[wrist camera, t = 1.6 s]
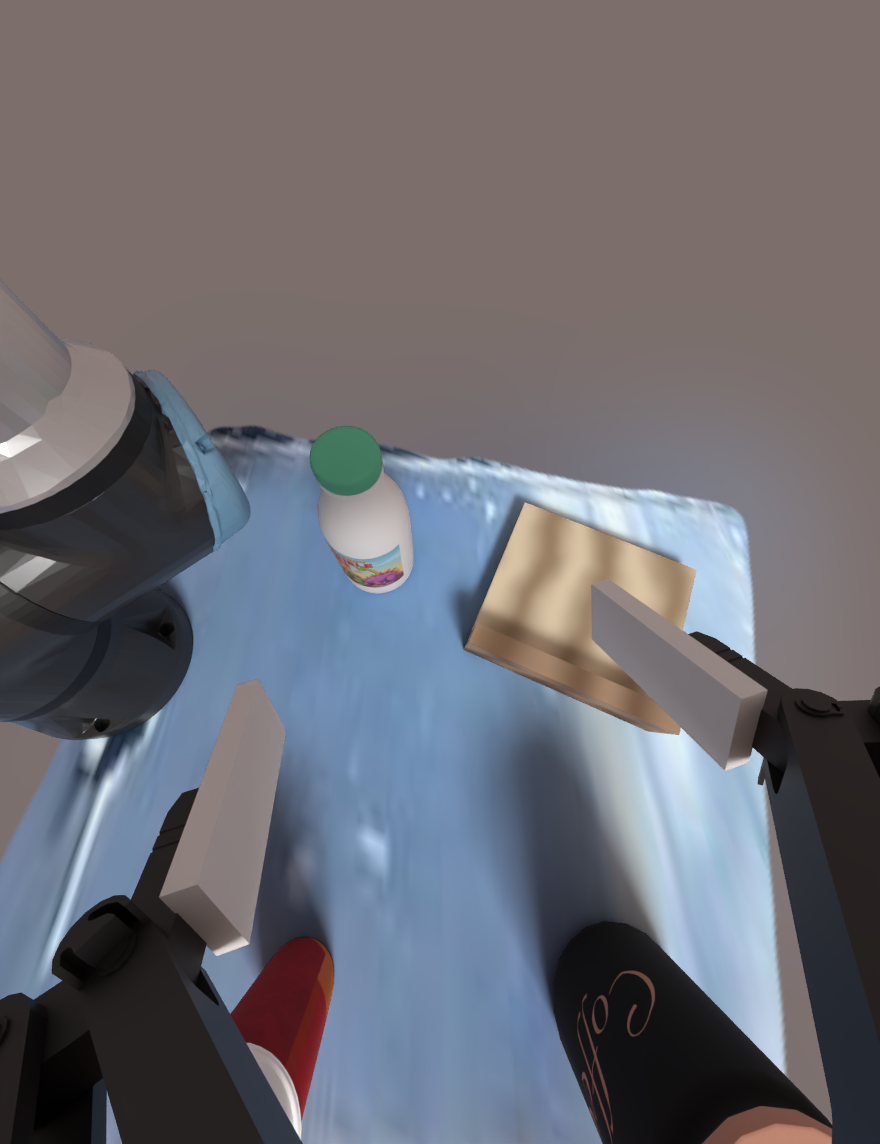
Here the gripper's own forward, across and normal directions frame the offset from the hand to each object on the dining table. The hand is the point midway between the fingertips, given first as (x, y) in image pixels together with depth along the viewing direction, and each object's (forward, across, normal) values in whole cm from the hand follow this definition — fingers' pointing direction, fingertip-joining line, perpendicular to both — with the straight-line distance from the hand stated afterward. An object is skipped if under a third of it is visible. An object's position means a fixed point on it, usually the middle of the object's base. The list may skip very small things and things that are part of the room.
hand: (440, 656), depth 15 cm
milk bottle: (+29, -2, -8) cm, 30 cm away
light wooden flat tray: (+21, +18, -16) cm, 31 cm away
